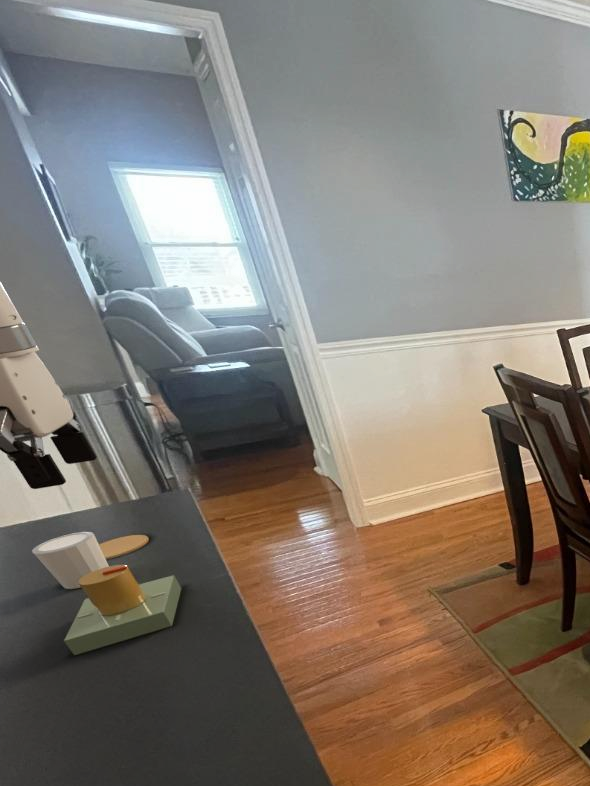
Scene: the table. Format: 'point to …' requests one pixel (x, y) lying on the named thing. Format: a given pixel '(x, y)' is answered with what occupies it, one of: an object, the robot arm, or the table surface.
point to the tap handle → (112, 589)
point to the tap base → (125, 618)
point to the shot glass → (71, 557)
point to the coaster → (122, 545)
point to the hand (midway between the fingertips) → (66, 473)
